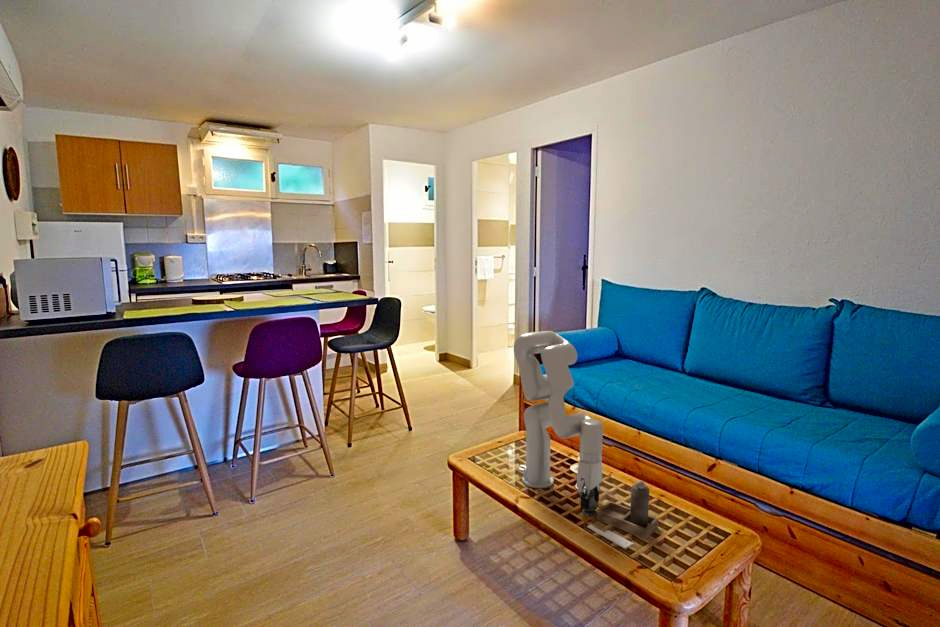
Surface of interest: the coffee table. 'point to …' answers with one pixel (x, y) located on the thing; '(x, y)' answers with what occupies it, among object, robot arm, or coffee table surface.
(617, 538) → the white plastic blade
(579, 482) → the robot arm
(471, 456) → the coffee table surface
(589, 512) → the salt shaker
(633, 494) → the cruet stand
